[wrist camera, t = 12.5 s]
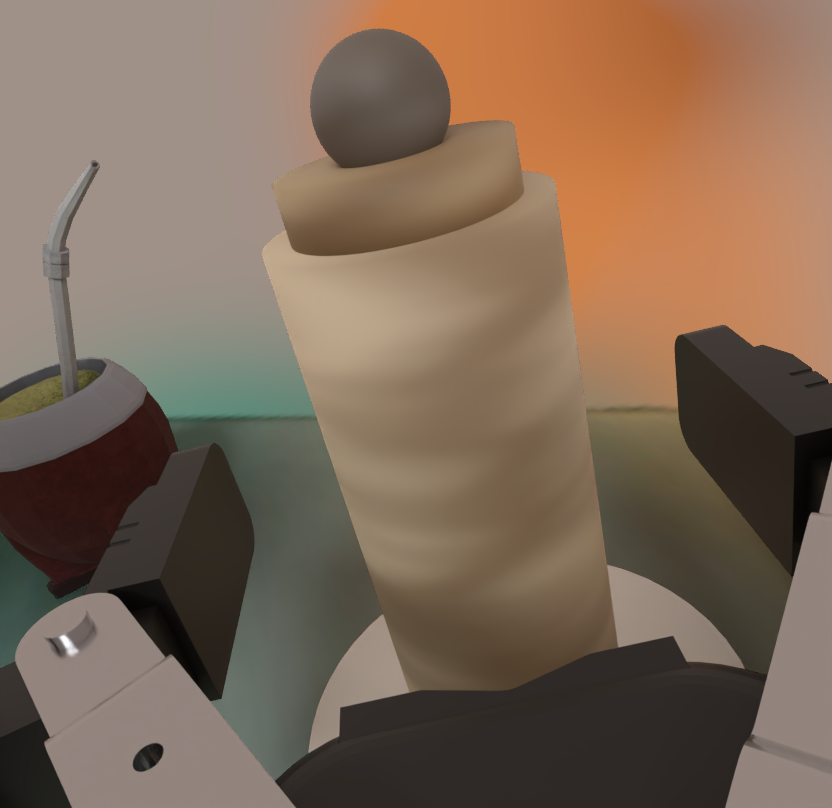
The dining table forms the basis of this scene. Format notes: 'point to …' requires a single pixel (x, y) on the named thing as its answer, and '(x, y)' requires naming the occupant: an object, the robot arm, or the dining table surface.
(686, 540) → the dining table surface
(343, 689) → the saucer
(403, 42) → the pepper mill
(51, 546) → the mate gourd
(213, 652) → the robot arm
